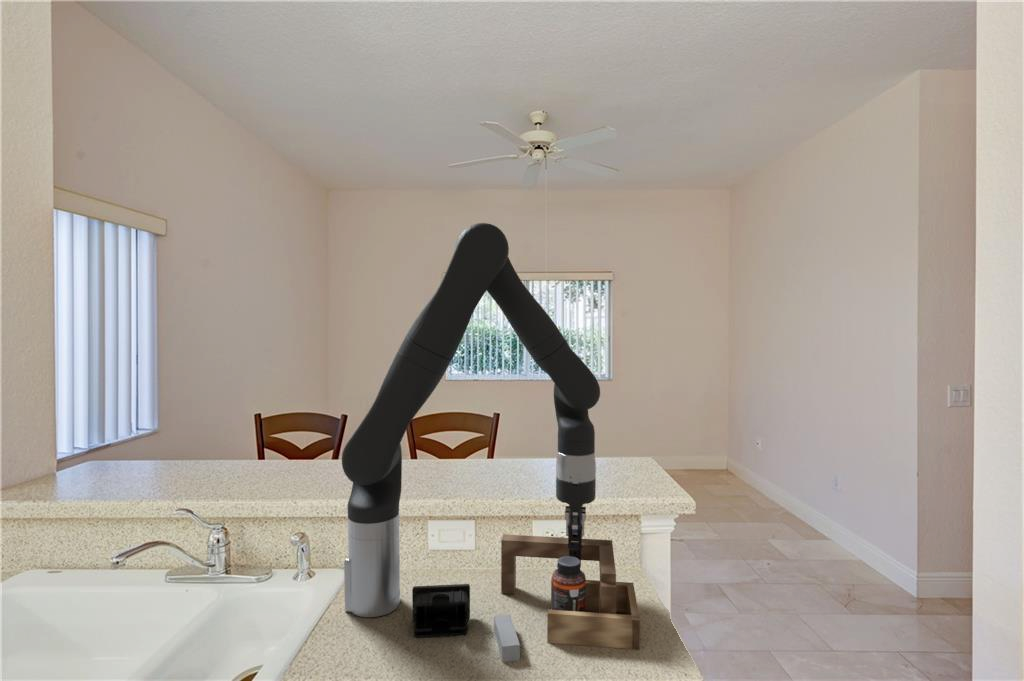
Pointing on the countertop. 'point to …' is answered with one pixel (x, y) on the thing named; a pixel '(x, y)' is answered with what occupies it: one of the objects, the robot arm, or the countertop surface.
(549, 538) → the walnut crook
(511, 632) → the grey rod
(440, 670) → the countertop surface
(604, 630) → the light wood frame
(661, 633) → the countertop surface
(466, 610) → the black box
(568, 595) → the supplement bottle
